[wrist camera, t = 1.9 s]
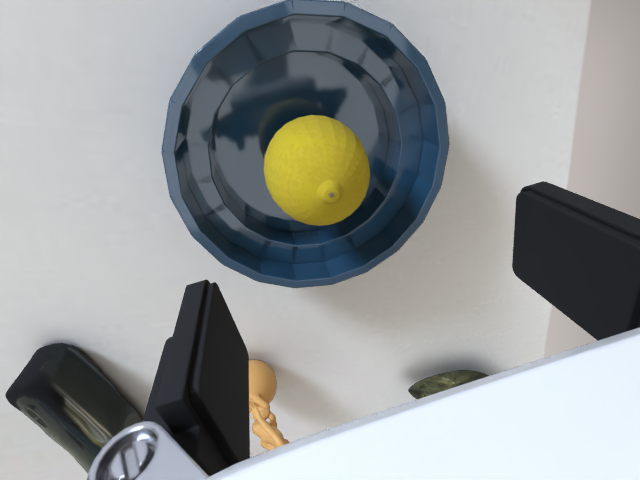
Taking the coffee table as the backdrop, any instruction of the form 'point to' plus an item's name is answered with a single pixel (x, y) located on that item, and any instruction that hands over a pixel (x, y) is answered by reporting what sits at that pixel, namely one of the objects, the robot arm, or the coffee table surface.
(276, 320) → the coffee table surface
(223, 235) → the bowl
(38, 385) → the dark piece
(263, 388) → the figurine
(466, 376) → the decorative stone
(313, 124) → the lemon
